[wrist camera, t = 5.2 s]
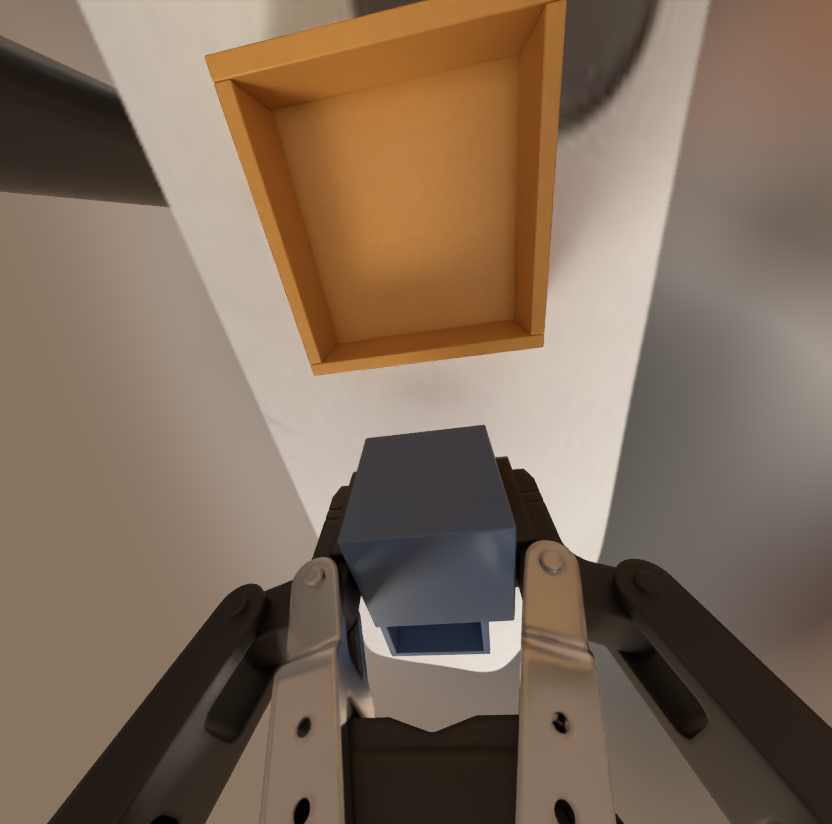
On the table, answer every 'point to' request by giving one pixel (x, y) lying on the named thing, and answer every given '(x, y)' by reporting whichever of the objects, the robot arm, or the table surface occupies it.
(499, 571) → the blue block
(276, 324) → the table surface
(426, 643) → the blue bin
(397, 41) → the ochre bin
